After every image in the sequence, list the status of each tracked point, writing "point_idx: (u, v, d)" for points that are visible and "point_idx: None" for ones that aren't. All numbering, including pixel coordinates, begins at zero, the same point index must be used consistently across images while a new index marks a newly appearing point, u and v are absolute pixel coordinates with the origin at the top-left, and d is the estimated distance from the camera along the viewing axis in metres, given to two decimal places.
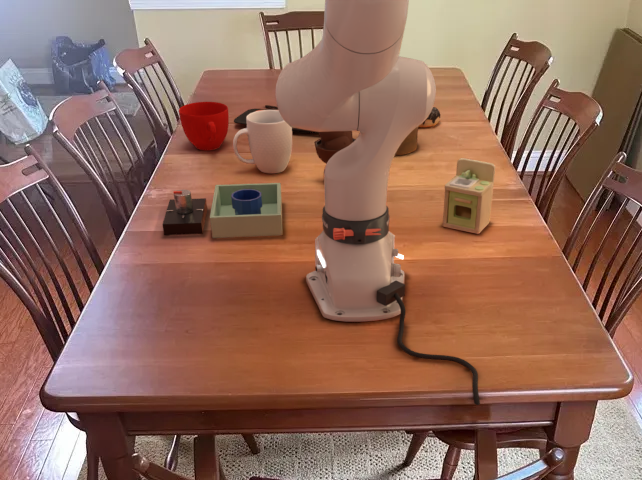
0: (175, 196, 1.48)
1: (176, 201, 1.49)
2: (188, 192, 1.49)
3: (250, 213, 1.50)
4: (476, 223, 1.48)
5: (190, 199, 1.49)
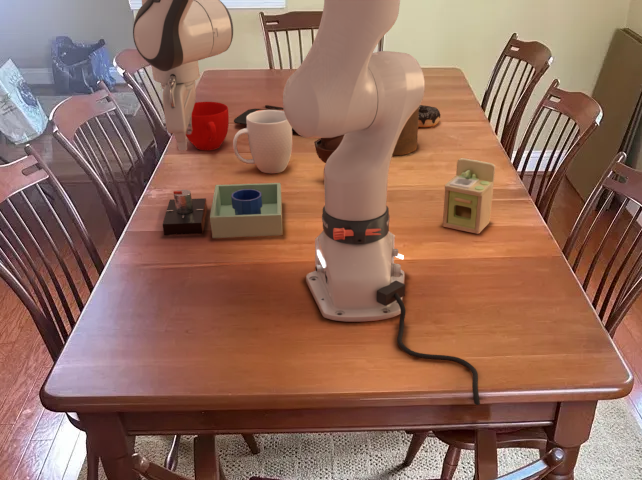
0: (175, 196, 1.48)
1: (176, 201, 1.49)
2: (188, 192, 1.49)
3: (250, 213, 1.50)
4: (476, 223, 1.48)
5: (190, 199, 1.49)
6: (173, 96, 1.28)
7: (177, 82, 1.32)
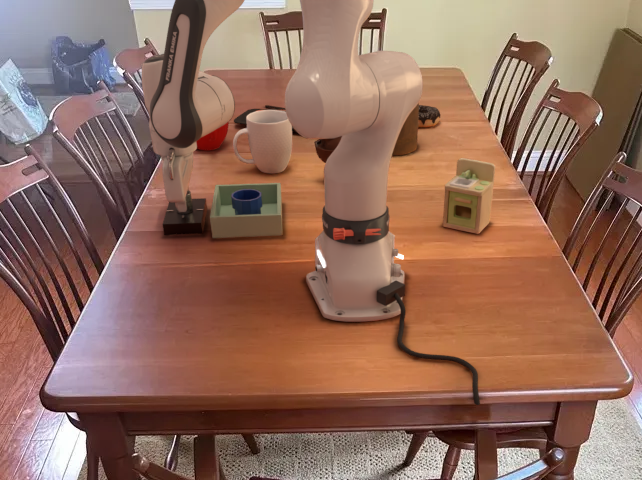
0: None
1: None
2: (188, 192, 1.49)
3: (250, 213, 1.50)
4: (476, 223, 1.48)
5: (190, 199, 1.49)
6: (172, 169, 1.36)
7: (176, 155, 1.40)
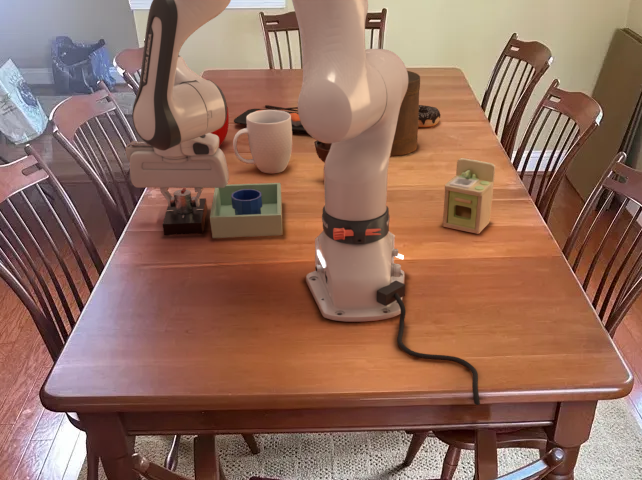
0: None
1: None
2: (180, 195, 1.48)
3: (250, 213, 1.50)
4: (476, 223, 1.48)
5: (177, 201, 1.49)
6: (127, 152, 1.44)
7: (153, 149, 1.43)
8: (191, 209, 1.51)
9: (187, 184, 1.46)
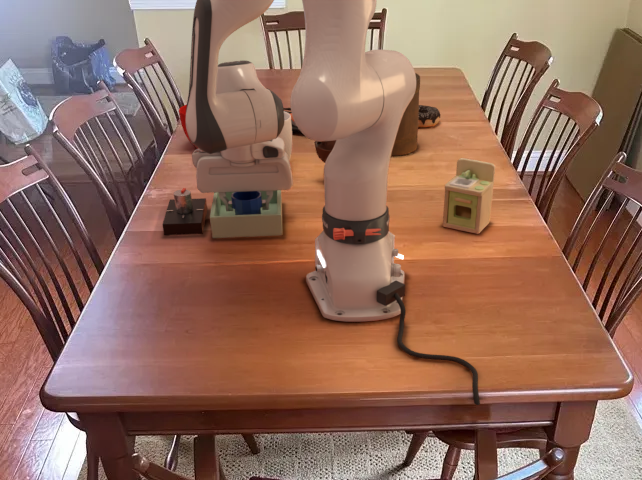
0: None
1: None
2: (179, 195, 1.48)
3: (250, 213, 1.50)
4: (476, 223, 1.48)
5: (177, 201, 1.49)
6: (193, 158, 1.44)
7: (221, 154, 1.44)
8: (191, 209, 1.51)
9: (253, 187, 1.48)
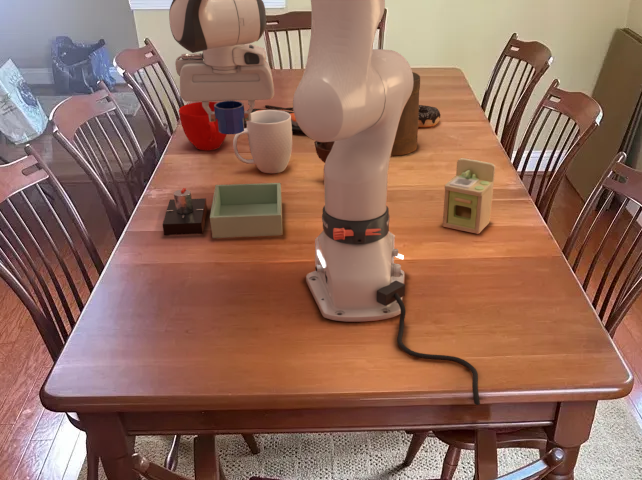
0: None
1: None
2: (179, 195, 1.48)
3: (232, 123, 1.54)
4: (476, 223, 1.48)
5: (177, 201, 1.49)
6: (177, 66, 1.48)
7: (203, 61, 1.48)
8: (191, 209, 1.51)
9: (235, 96, 1.52)
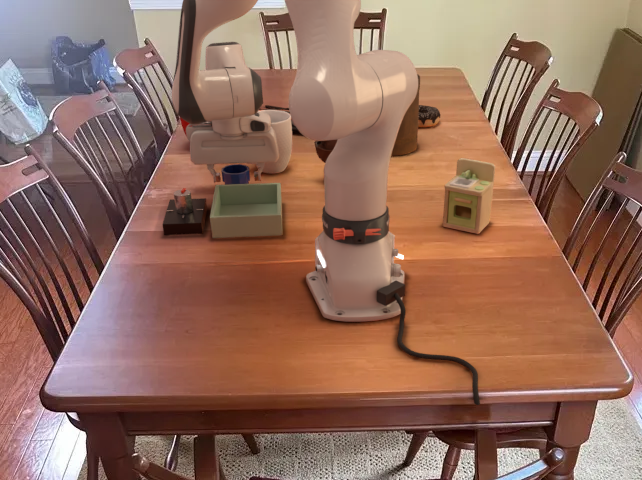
0: None
1: None
2: (179, 195, 1.48)
3: None
4: (476, 223, 1.48)
5: (177, 201, 1.49)
6: (187, 132, 1.58)
7: (212, 128, 1.57)
8: (191, 209, 1.51)
9: (242, 160, 1.61)
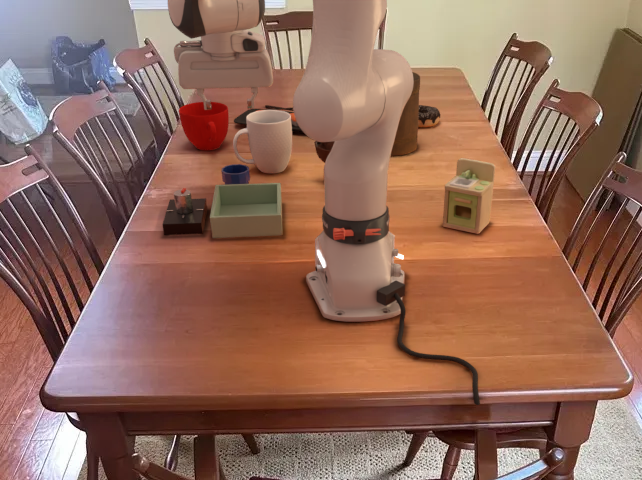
0: None
1: None
2: (179, 195, 1.48)
3: None
4: (476, 223, 1.48)
5: (177, 201, 1.49)
6: (175, 53, 1.47)
7: (202, 48, 1.47)
8: (191, 209, 1.51)
9: (234, 84, 1.51)
